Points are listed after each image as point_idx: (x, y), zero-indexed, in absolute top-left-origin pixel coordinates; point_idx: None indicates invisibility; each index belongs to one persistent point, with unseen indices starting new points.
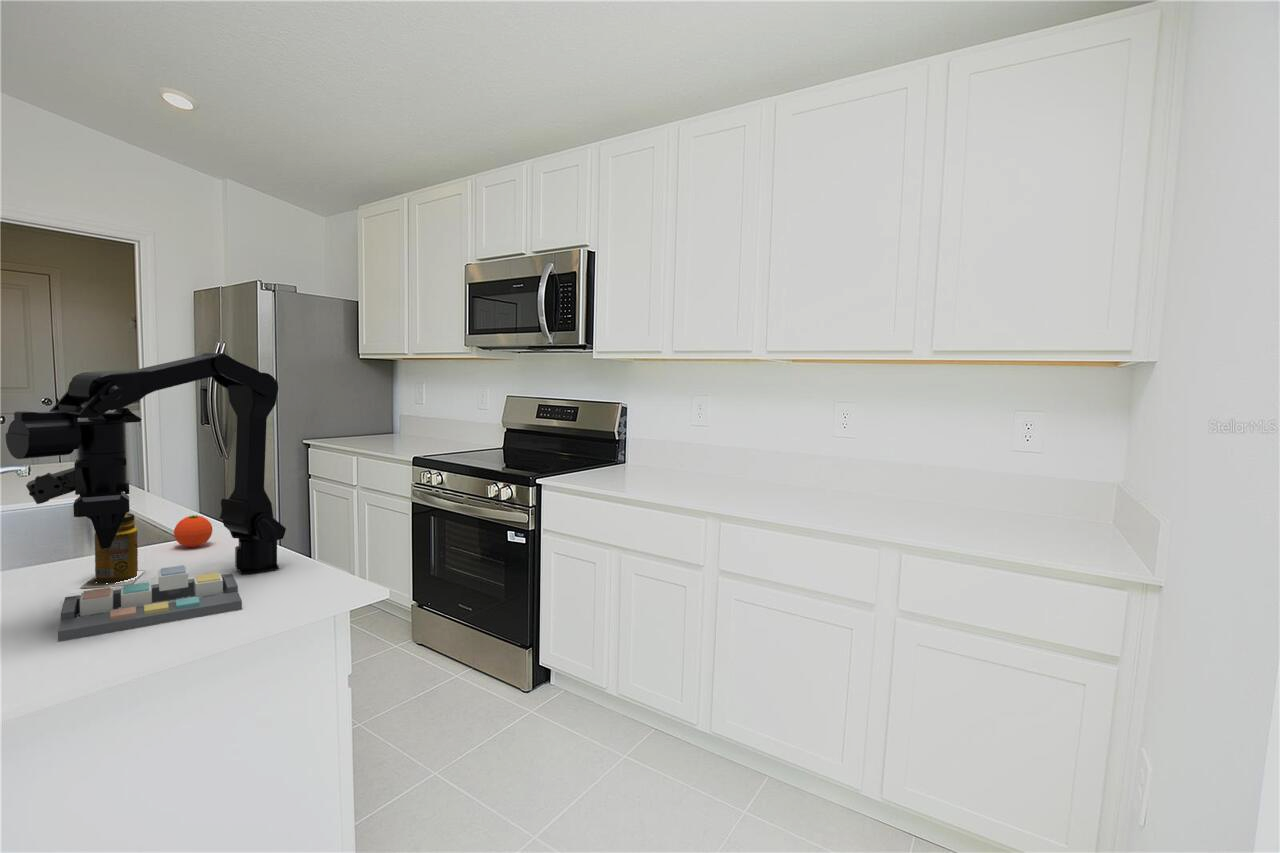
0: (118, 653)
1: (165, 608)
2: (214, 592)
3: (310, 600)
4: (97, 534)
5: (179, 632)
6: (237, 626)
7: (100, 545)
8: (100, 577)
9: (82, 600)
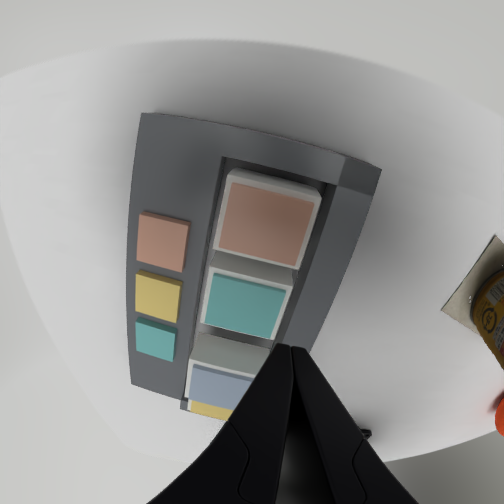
0: (43, 193)
1: (136, 305)
2: None
3: (129, 417)
4: (242, 401)
5: (80, 283)
6: (71, 337)
7: (272, 352)
8: (501, 277)
9: (231, 181)
